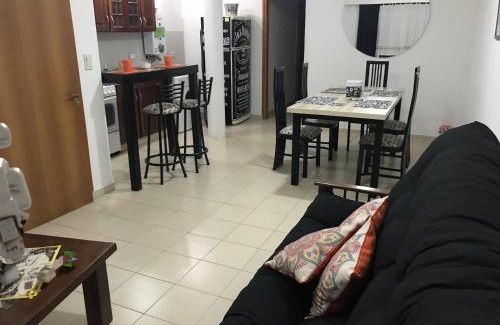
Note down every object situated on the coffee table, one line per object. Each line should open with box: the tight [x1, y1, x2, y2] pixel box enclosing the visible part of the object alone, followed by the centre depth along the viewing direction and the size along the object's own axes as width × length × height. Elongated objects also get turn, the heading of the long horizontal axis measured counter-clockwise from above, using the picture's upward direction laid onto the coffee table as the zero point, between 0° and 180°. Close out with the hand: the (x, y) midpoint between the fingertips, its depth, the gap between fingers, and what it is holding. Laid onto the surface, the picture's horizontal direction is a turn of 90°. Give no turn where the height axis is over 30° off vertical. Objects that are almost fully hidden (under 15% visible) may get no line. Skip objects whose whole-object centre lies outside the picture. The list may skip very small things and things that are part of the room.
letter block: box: [35, 264, 57, 283], centre depth 167 cm, size 6×5×5 cm
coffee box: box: [0, 215, 25, 259], centre depth 152 cm, size 9×6×16 cm
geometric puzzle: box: [58, 250, 77, 268], centre depth 176 cm, size 7×7×8 cm
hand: (10, 238), depth 153 cm, fingers closed on coffee box, 7 cm apart
